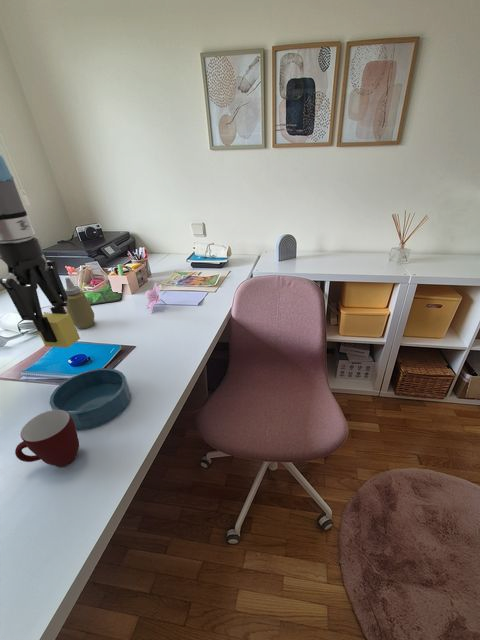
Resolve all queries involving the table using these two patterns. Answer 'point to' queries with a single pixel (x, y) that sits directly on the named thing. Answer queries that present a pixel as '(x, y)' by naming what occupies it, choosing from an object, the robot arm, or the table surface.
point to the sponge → (61, 330)
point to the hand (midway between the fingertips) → (58, 335)
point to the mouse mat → (103, 296)
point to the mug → (50, 439)
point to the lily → (153, 297)
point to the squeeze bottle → (78, 306)
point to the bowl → (92, 397)
